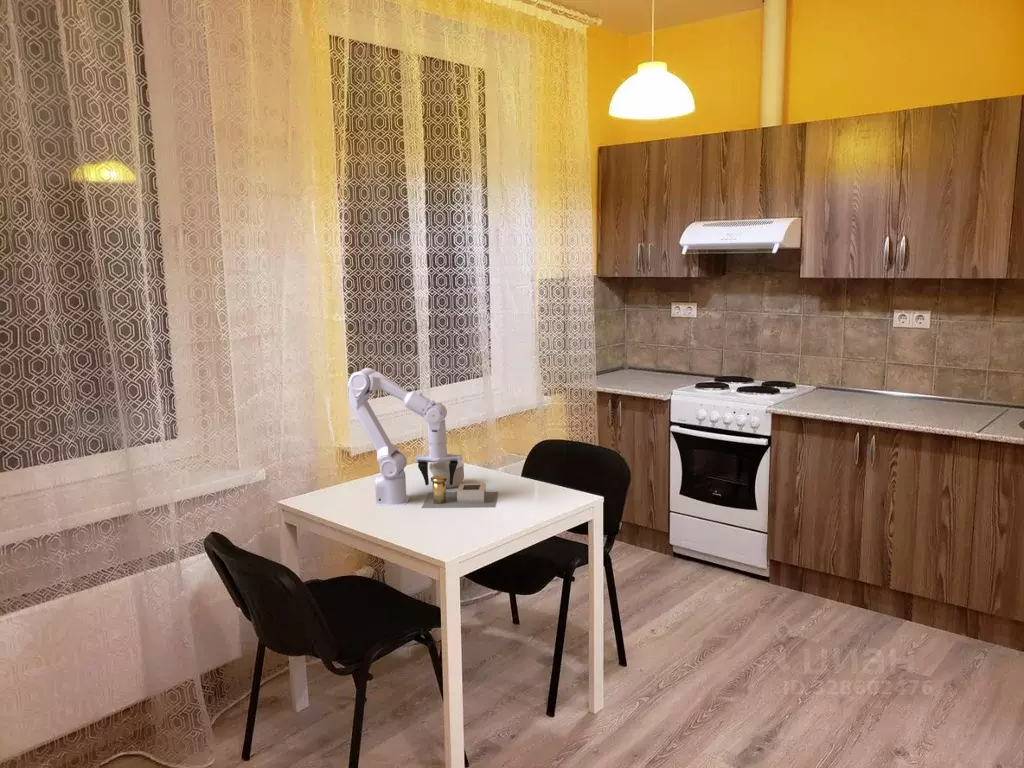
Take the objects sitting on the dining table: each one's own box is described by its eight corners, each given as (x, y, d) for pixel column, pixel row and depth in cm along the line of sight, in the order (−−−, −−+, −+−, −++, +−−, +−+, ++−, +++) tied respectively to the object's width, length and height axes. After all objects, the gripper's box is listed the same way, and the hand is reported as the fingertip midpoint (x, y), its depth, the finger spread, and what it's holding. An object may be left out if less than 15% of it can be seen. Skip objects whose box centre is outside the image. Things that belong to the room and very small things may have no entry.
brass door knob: (430, 504, 240) (429, 480, 238) (433, 499, 244) (432, 475, 243) (446, 504, 239) (445, 480, 238) (448, 499, 244) (447, 475, 243)
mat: (421, 509, 237) (421, 507, 237) (429, 493, 253) (428, 492, 252) (495, 508, 236) (495, 507, 236) (498, 492, 252) (498, 491, 251)
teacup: (470, 486, 259) (470, 463, 258) (444, 493, 253) (443, 470, 251) (447, 478, 270) (446, 456, 269) (421, 484, 263) (420, 462, 262)
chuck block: (457, 503, 240) (456, 491, 239) (460, 495, 248) (459, 483, 248) (484, 503, 240) (483, 491, 239) (486, 495, 248) (485, 483, 247)
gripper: (412, 445, 235) (414, 488, 237) (459, 445, 234) (460, 487, 237) (415, 440, 242) (418, 481, 244) (461, 439, 241) (463, 481, 244)
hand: (439, 484), depth 241 cm, fingers open, 7 cm apart
